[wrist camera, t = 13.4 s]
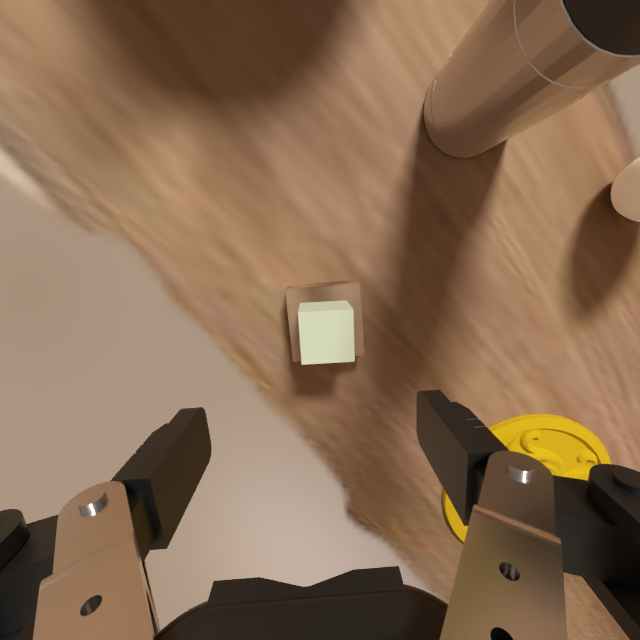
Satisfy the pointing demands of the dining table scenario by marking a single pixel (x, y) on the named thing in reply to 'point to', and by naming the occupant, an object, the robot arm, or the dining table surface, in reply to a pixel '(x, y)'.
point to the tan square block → (323, 294)
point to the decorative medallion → (544, 450)
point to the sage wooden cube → (326, 332)
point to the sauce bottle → (627, 191)
